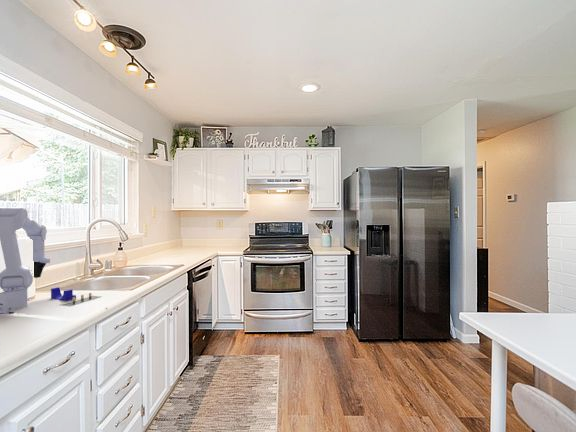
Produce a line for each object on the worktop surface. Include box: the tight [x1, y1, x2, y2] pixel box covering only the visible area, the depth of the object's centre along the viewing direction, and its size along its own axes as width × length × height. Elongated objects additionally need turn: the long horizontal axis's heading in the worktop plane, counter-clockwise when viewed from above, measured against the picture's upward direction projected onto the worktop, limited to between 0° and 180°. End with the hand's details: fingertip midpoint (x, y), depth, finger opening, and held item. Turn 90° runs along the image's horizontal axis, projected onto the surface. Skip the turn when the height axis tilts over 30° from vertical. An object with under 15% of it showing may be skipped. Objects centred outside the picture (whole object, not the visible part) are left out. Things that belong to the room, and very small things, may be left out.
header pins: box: [72, 292, 92, 303], centre depth 140 cm, size 9×1×3 cm, turn 164°
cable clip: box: [50, 287, 77, 302], centre depth 144 cm, size 12×4×6 cm, turn 64°
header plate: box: [59, 295, 102, 307], centre depth 140 cm, size 16×7×1 cm, turn 164°
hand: (37, 277), depth 149 cm, fingers closed
